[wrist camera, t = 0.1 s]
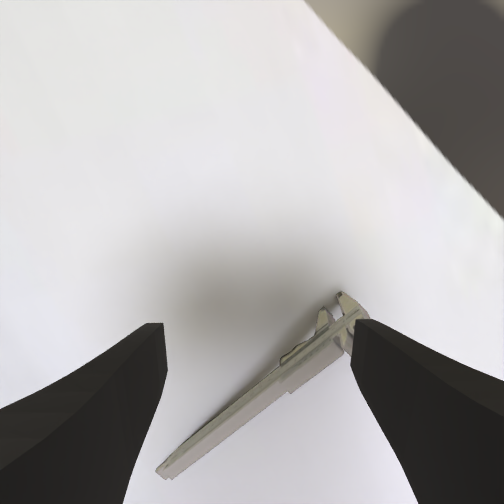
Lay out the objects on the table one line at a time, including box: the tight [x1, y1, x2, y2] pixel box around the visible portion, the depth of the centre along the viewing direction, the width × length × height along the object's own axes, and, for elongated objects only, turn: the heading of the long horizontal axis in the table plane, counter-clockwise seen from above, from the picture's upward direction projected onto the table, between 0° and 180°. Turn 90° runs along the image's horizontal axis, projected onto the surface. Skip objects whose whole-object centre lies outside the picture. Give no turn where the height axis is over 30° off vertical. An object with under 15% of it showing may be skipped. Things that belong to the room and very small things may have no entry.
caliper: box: [155, 292, 370, 480], centre depth 19 cm, size 20×1×6 cm, turn 135°
